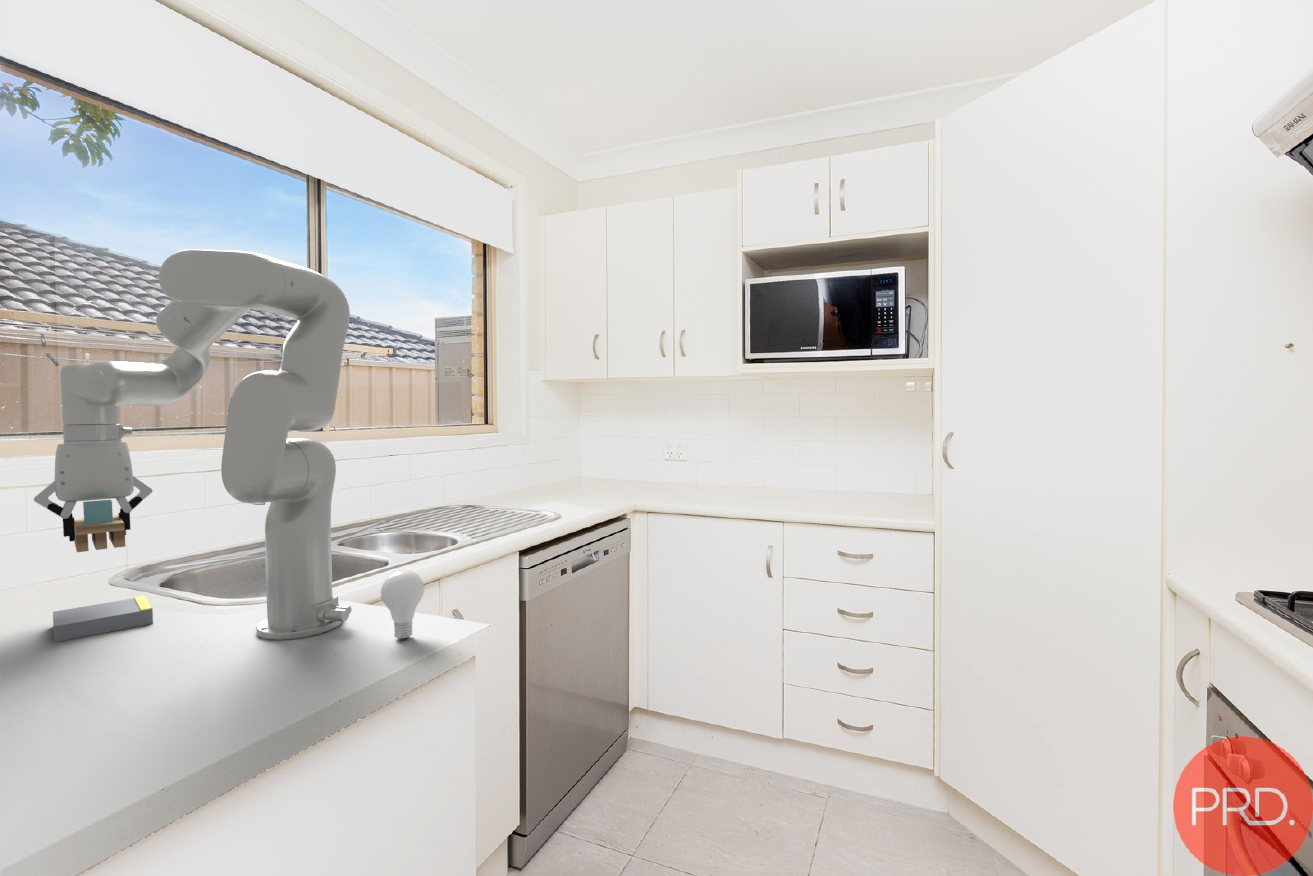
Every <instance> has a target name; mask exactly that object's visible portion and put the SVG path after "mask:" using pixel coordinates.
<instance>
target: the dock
mask: <svg viewBox="0 0 1313 876" xmlns="http://www.w3.org/2000/svg"><path fill="white" fill-rule="evenodd" d="M153 615H154V613H153V606H152V605H151V603H150V602H149V600H148V598H147V596H146V595H139V596H134V597H133V598H126V599H123V600H121V599H120V600H116V601H109V602H104V603H97V604H92V605H86V606H80V607H79V606H78V607H73V608H68V609H67V608H66V609H61V610H55V611H52V622H53V623H52V624H53V626H52V627H53V637H54V642H55V643H56V642H57V643H58V642H63V641H68V640H69V641H70V640H73V639H79V638H83V637H88V636H93V635H100V634H104V633H109V632H114V631H119V630H125V629H129V628H135V627H142V626H145V625H151V624H154V616H153Z"/></svg>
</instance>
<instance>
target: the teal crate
mask: <svg viewBox="0 0 1313 876" xmlns="http://www.w3.org/2000/svg"><path fill="white" fill-rule="evenodd" d="M82 507H83V518H84V523H85V525H87V524H97V523H107V522H113V516H114V515H113V501H112V499H101V500H88V501H82Z"/></svg>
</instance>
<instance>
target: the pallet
mask: <svg viewBox="0 0 1313 876" xmlns="http://www.w3.org/2000/svg"><path fill="white" fill-rule="evenodd" d="M74 522H75V523H74V531H75V540H74V541H73V543H74V546H75V550H76V553H83V552H89V535H90V534H91V541H92V545H93V547H94V549H95V550H96V551H98V550H107V549H108V539H109V540H110V541H109V542H111V544H112V546H113V548H114V549H116V548H124V547H126V535H125V527H124V522H123V521H122V519H121V518H120V517H119V515H118V514H115V515H113V522H107V523H97V524H87V525H85V523H84V517H83V518H74ZM107 533H108V534H107ZM107 535H108V537H107Z"/></svg>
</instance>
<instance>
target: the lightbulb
mask: <svg viewBox="0 0 1313 876" xmlns="http://www.w3.org/2000/svg"><path fill="white" fill-rule="evenodd" d="M424 592H425V585H424V581H423V580H422V578H421V576H420V575H419V574H418V573H416V572H414V571H412V570H410V569H409V570H408V569H399V570H396V571H393V572H392V573H390V574H389V575H388V576H387V577H386V578H385V579H384V581H383V583H382V584H381V587H380V597H381V600H382V602H383V604H384V606H385V607H387V609H388V610H389V611H390V615H391V619H392V621H393V625H394V626H393V628H394V631H393V632H394V634H393V636H394V637H395V638H397V639H398V640H406V639H408V638H410V637H411V636H412V635H413V619H414V616H415V613H416V609H417V607H418V605H419V603H420V602H421V600H422V599H423V596H424Z"/></svg>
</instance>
